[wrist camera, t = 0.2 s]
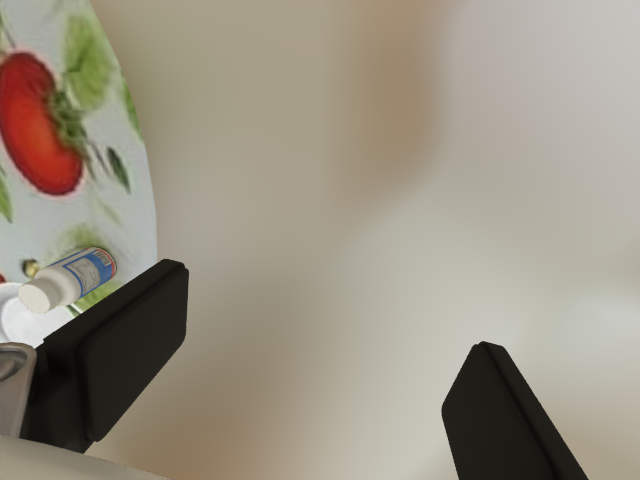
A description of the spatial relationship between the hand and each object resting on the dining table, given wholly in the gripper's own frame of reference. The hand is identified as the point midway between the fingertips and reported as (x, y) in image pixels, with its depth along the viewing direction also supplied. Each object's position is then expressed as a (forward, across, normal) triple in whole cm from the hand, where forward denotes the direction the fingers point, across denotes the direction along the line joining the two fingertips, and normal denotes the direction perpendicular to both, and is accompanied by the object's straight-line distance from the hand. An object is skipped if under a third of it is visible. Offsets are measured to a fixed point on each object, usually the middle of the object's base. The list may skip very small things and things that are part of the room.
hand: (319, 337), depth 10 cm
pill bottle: (+27, +33, +20) cm, 47 cm away
